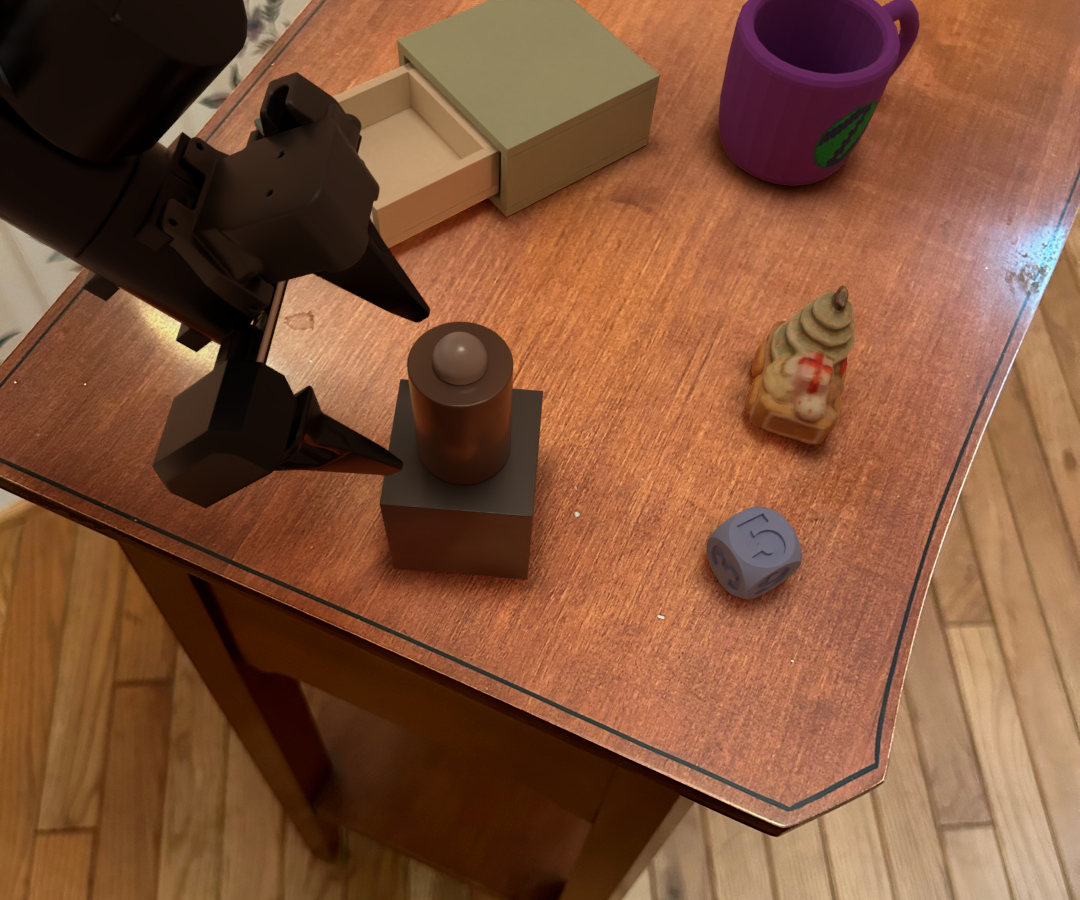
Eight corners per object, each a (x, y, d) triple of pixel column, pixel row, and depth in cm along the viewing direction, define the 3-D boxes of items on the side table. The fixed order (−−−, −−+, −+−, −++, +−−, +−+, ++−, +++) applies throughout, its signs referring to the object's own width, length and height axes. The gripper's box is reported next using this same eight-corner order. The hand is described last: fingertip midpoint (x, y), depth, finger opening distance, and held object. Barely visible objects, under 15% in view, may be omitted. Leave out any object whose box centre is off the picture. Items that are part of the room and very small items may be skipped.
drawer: (308, 302, 63) (296, 256, 60) (218, 191, 68) (202, 142, 64) (504, 201, 68) (505, 153, 65) (410, 104, 73) (405, 53, 69)
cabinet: (506, 217, 69) (507, 149, 64) (403, 111, 74) (396, 39, 68) (647, 144, 73) (660, 74, 68) (542, 47, 78) (546, -25, 72)
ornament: (833, 459, 61) (892, 363, 52) (739, 443, 61) (782, 345, 52) (837, 361, 64) (892, 256, 56) (748, 346, 65) (789, 240, 56)
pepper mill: (402, 468, 50) (386, 368, 42) (438, 395, 52) (428, 287, 44) (491, 497, 49) (491, 401, 42) (523, 422, 51) (529, 317, 44)
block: (393, 568, 56) (379, 504, 49) (411, 454, 60) (400, 378, 52) (527, 580, 56) (533, 516, 49) (537, 465, 60) (543, 390, 52)
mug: (773, 220, 70) (814, 104, 61) (679, 128, 74) (704, 7, 65) (937, 135, 75) (997, 16, 66) (840, 54, 79) (885, -69, 70)
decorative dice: (753, 527, 58) (770, 496, 55) (790, 580, 57) (810, 551, 53) (699, 554, 57) (713, 523, 54) (736, 608, 56) (752, 580, 52)
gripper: (135, 294, 27) (509, 511, 37) (272, -85, 36) (547, 174, 46) (-6, 421, 34) (340, 575, 44) (137, 79, 43) (400, 273, 53)
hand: (411, 390), depth 46 cm, fingers open, 9 cm apart
